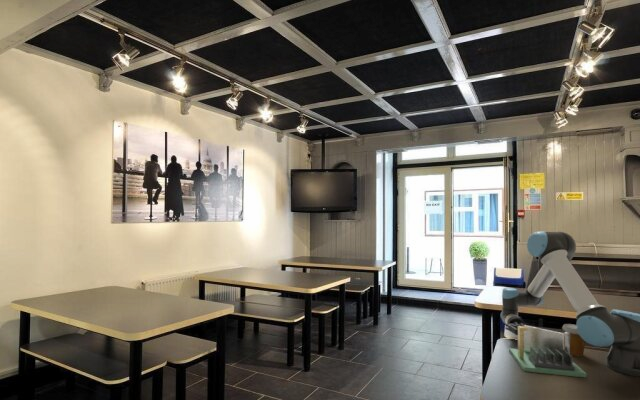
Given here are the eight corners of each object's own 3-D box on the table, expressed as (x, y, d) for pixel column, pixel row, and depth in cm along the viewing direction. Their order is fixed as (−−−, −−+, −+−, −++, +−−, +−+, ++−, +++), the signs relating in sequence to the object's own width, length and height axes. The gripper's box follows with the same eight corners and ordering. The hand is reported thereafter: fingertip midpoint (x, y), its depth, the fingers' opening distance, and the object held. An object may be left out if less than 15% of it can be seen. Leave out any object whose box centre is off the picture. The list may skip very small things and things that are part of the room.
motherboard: (563, 356, 166) (563, 353, 166) (586, 377, 144) (586, 373, 144) (508, 351, 171) (508, 348, 171) (523, 370, 149) (523, 367, 149)
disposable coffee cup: (591, 358, 164) (591, 330, 165) (567, 356, 166) (567, 329, 167) (581, 350, 174) (581, 324, 174) (558, 349, 176) (558, 323, 176)
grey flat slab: (564, 359, 157) (563, 333, 158) (563, 360, 156) (562, 334, 157) (525, 350, 168) (525, 325, 168) (524, 350, 167) (524, 325, 167)
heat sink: (568, 360, 157) (568, 329, 157) (580, 371, 146) (580, 338, 147) (517, 356, 161) (517, 325, 162) (525, 366, 151) (525, 333, 151)
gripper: (529, 332, 189) (546, 348, 166) (501, 329, 192) (513, 345, 169) (529, 317, 189) (545, 330, 166) (501, 314, 192) (513, 328, 169)
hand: (529, 338), depth 168 cm, fingers closed
